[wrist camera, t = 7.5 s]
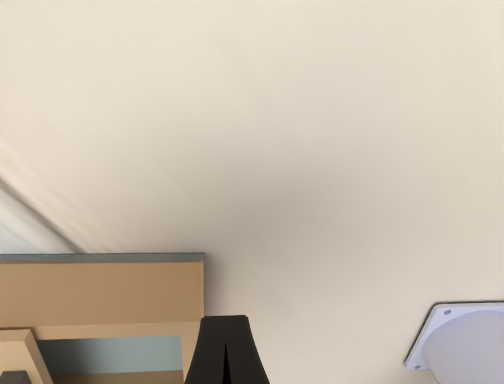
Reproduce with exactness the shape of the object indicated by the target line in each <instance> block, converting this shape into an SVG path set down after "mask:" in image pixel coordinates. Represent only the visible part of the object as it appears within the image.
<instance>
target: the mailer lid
mask: <svg viewBox="0 0 504 384" xmlns="http://www.w3.org/2000/svg"><path fill="white" fill-rule="evenodd" d="M0 384H53V382H52V379H51V377H50V375H49V372H48V370H47V368H46V365H45V363H44V360H43V358H42V356H41V353H40V351H39V349H38V346H37V344H36V342H35V339H34V337H33V335H32V332H31V330H30V329H25V330H0Z"/></svg>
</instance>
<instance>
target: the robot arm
mask: <svg viewBox="0 0 504 384" xmlns="http://www.w3.org/2000/svg"><path fill="white" fill-rule="evenodd" d="M405 367H406V369H407V370H430V369H431V371H432V373H433V375H434V376H435V378H436V380H437V382H438V384H504V302H502V303H464V304H438V305H436V306H435V307H434V308H433V309H432V311H431V313H430V315H429V317H428V319H427V321H426V323H425V325H424V327H423V329H422V331H421V333H420V335H419V337H418V339H417V341H416V343H415V345H414V346H413V348H412V350H411V352H410V354H409V356H408V358H407V360H406V362H405ZM184 384H270V383H269V380H268V378H267V375H266V373H265V371H264V368H263V365H262V363H261V360H260V357H259V354H258V352H257V349H256V346H255V343H254V340H253V336H252V333H251V329H250V325H249V320H248V317H246V316H245V315H233V316H204V317H203V318H201V321H200V329H199V334H198V339H197V343H196V347H195V351H194V354H193V358H192V361H191V364H190V367H189V370H188V373H187V376H186V379H185V382H184Z"/></svg>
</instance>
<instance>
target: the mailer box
mask: <svg viewBox="0 0 504 384" xmlns="http://www.w3.org/2000/svg"><path fill="white" fill-rule="evenodd" d="M203 317H204V253H152V254H34V255H0V330H25V329H30V330H31V332H32V335H33V337H34V339H35V342H36V344H37V346H38V349H39V351H40V353H41V356H42V358H43V360H44V363H45V365H46V368H47V370H48V372H49V375H50V377H51V379H52V382H53V384H184V382H185V379H186V376H187V373H188V370H189V367H190V364H191V361H192V358H193V354H194V351H195V347H196V343H197V339H198V334H199V329H200V321H201V318H203Z"/></svg>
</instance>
